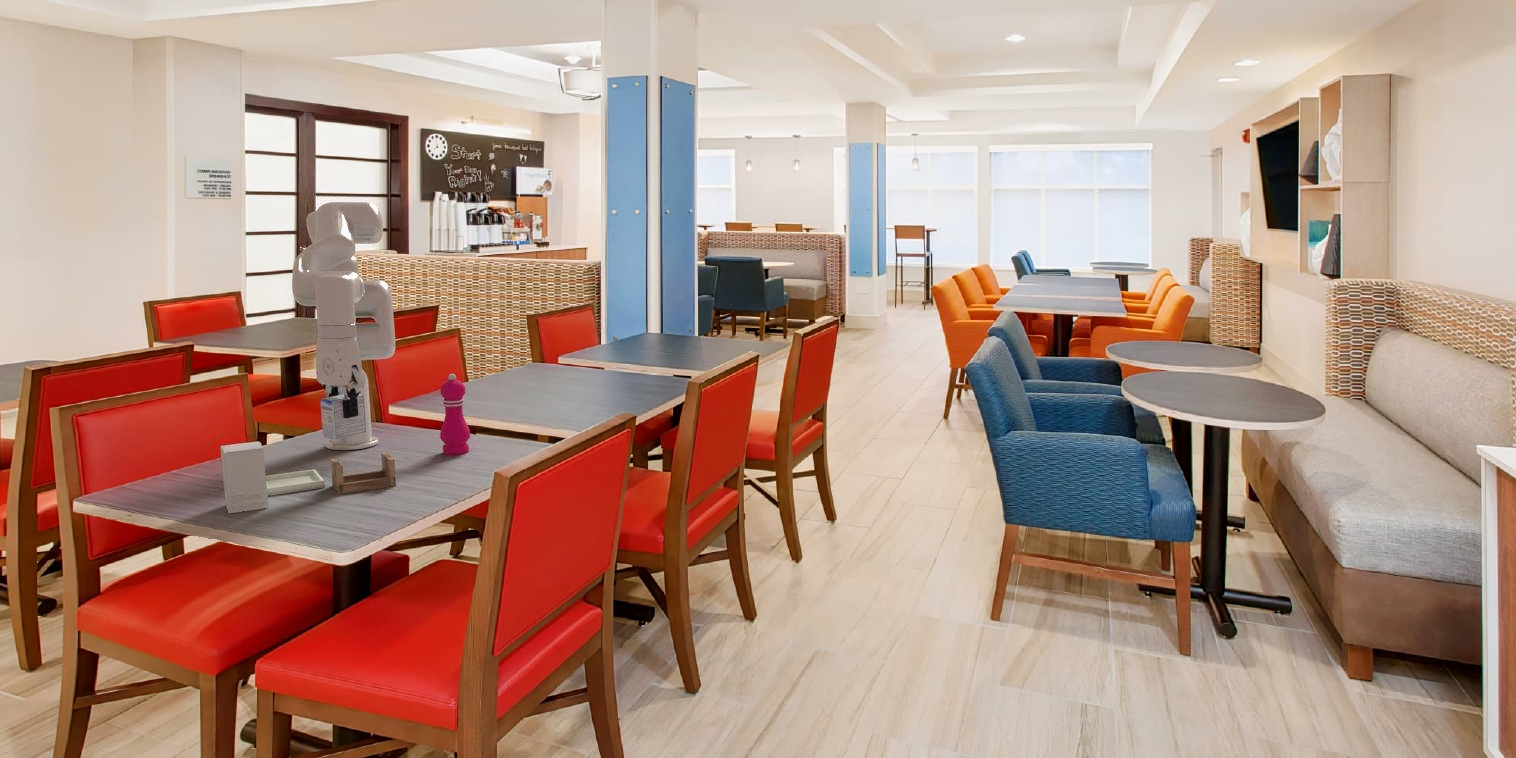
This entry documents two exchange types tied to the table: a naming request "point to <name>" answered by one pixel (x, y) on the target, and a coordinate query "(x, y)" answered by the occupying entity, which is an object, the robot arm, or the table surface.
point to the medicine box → (341, 418)
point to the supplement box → (244, 477)
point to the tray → (294, 482)
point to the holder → (364, 477)
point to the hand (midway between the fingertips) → (343, 414)
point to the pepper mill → (454, 418)
